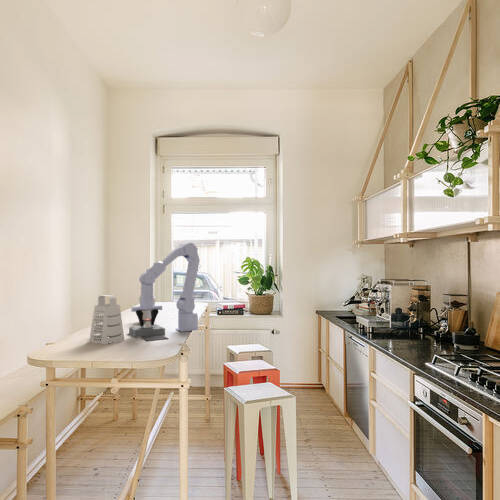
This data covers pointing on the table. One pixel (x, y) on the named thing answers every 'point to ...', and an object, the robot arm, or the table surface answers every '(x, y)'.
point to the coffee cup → (147, 313)
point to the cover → (147, 324)
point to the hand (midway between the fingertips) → (146, 325)
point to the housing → (146, 331)
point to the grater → (107, 322)
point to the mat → (154, 337)
